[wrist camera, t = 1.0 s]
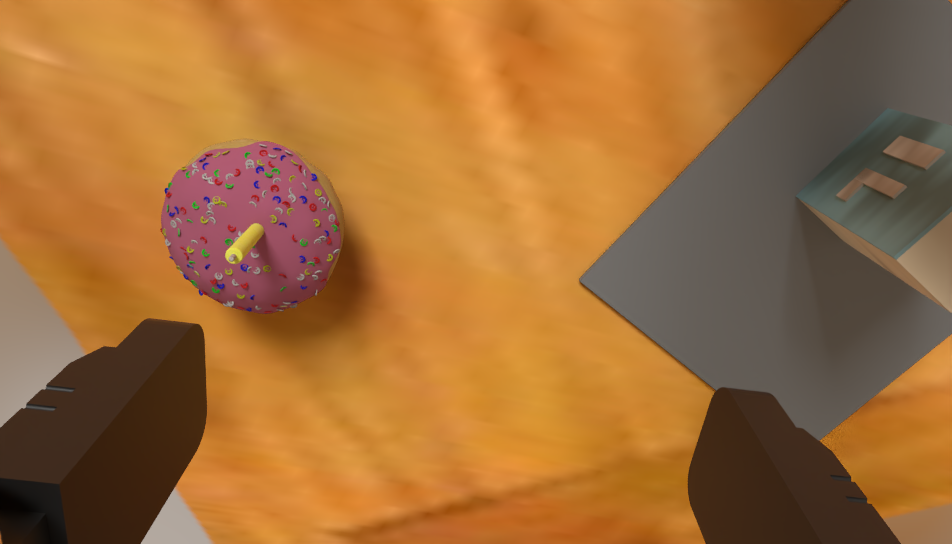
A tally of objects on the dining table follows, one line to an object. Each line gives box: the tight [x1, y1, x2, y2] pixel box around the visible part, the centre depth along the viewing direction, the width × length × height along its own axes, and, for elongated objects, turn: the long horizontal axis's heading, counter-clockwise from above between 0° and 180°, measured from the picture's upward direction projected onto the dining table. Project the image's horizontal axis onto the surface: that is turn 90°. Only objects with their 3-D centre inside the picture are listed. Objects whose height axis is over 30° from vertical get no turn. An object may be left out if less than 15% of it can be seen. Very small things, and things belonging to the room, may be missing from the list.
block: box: [796, 108, 952, 313], centre depth 31 cm, size 6×4×9 cm
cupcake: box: [161, 139, 344, 314], centre depth 31 cm, size 9×8×12 cm
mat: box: [579, 0, 952, 441], centre depth 37 cm, size 22×19×1 cm
